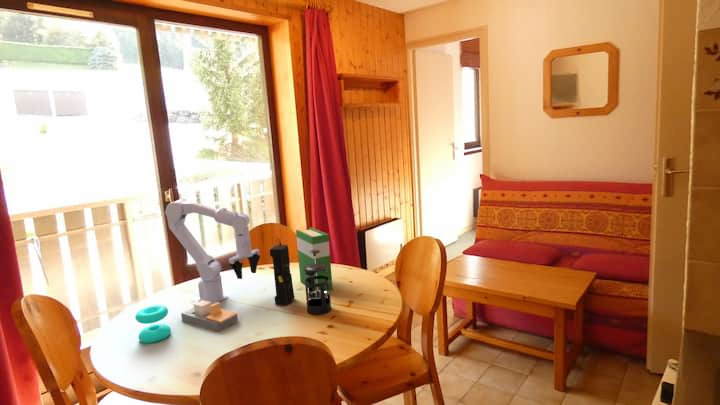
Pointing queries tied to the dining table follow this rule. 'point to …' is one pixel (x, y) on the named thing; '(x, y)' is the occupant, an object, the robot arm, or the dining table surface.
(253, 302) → the dining table surface
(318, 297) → the french press
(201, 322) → the grey recessed box
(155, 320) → the cyan discs
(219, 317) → the shutter
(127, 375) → the dining table surface
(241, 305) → the dining table surface
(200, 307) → the beige rectangular block
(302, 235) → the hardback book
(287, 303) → the portable radio
